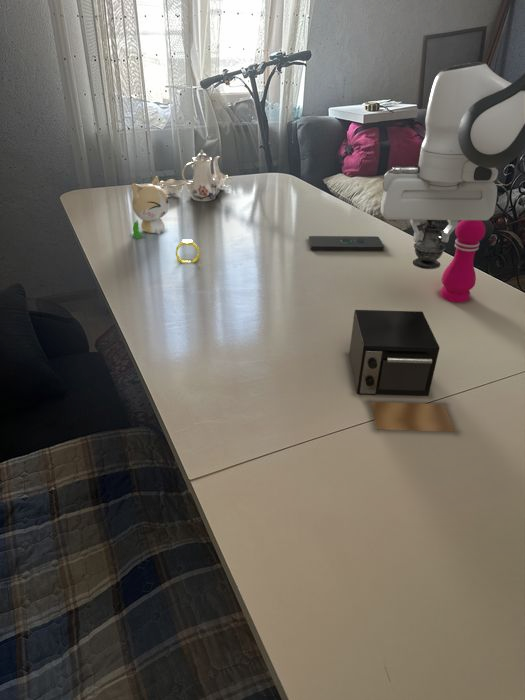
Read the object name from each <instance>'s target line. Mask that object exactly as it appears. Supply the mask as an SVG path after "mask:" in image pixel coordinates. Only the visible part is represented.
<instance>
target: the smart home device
mask: <svg viewBox="0 0 525 700" xmlns="http://www.w3.org/2000/svg"><path fill="white" fill-rule="evenodd" d="M308 244H309V248H310V249H309V250H310V251H313V252H314V251H315V252H384V248H385V245H384V243H383V242H382V240H381V239H380V236H376V235H375V236H370V235H369V236H368V235H361V236H359V235H357V236H355V235H353V236H352V235H337V236H336V235H309V236H308Z"/></svg>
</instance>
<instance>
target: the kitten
mask: <svg viewBox="0 0 525 700" xmlns="http://www.w3.org/2000/svg"><path fill="white" fill-rule="evenodd" d="M131 191H132V203H131V204H132V210H133V212H134V214H135V215H136V217H137V218H139V220H142V222H141V225H140V226H141V227H139V220H136V221H134V223H133V226H132V232H133V235H132V236H133V237H134V238H136V239H141V238H142V233H141V232H140V231H139V230H140V229H141V230H142V231H143V232H145V233H149V234H155V233H156V234H157V235H159V234H161V233H164V232H165V229H166V227H165V222H164V221H163V219H162V218H163V217H164V216H165V215H167V213H168V212H169V210H170V201H169V196H167V195H166V193H165V192H164V190H163V189H162V188H161V185H160V180H159V177H158V175H156V176H154V178H153V179H152V181H151V182H150V183H147V184H143V185H140V184H137V183H135V182H133V183H131ZM139 228H140V229H139Z"/></svg>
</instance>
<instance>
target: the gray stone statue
mask: <svg viewBox="0 0 525 700" xmlns="http://www.w3.org/2000/svg"><path fill="white" fill-rule="evenodd" d="M442 224H443V220H425V224H424V225H423V226H422V228H423V233H424V238H423V242H414V244H413V248H414V252H415V256H416V257H417V258H415V259H413V260H412V265H413V266H415V267H417V268H420V269H423V270H436V269H439V268H440V267H441V263H440V262H439V261H438V260H439V259H440V258H441V257H442V255H443V254H444V251H445V250H446V246H445V245H444V244H443V243H441V242H439V237H440V232H441V231H443V230H444V229H443V228H444V227H443V226H442Z"/></svg>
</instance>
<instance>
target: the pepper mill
mask: <svg viewBox="0 0 525 700" xmlns="http://www.w3.org/2000/svg"><path fill="white" fill-rule="evenodd" d="M454 233H455V236H456V239H455V241H454V248H455V253H454V256H453V258H452V260H451V261H450V263H449V264H448V266H447V267H446V268H445V270H444V271H443V274H442V276H441V283H442V285H443V286H442V287H441V290H440V297H441V299H444V300H446V301H448V302H452V303H466V302H468V301H469V299H470V296H471V292H470V290H472V289H474V287H475V285H476V281H477V275H476V270H475V266H474V258H475V254H476V251H478V250H479V246H480V245H481V243H480V241H481V240H482V239H484V237H485V234H486V226H485V223H484V222H483V220H459V221H458V226H457V227H456V228H455V229H454Z"/></svg>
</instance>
